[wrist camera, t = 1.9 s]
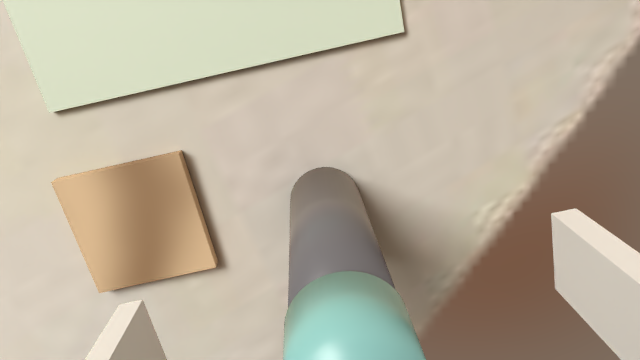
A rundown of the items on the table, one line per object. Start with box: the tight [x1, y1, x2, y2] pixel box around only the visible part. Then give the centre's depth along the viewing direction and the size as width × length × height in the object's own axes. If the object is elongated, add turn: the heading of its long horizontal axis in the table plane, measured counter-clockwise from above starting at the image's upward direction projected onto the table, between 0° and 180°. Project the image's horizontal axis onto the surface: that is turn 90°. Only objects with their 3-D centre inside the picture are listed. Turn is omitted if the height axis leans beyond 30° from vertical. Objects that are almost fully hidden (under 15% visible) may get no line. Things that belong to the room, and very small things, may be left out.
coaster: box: [51, 150, 218, 293], centre depth 23 cm, size 6×6×1 cm
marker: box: [283, 167, 426, 360], centre depth 17 cm, size 4×4×13 cm
